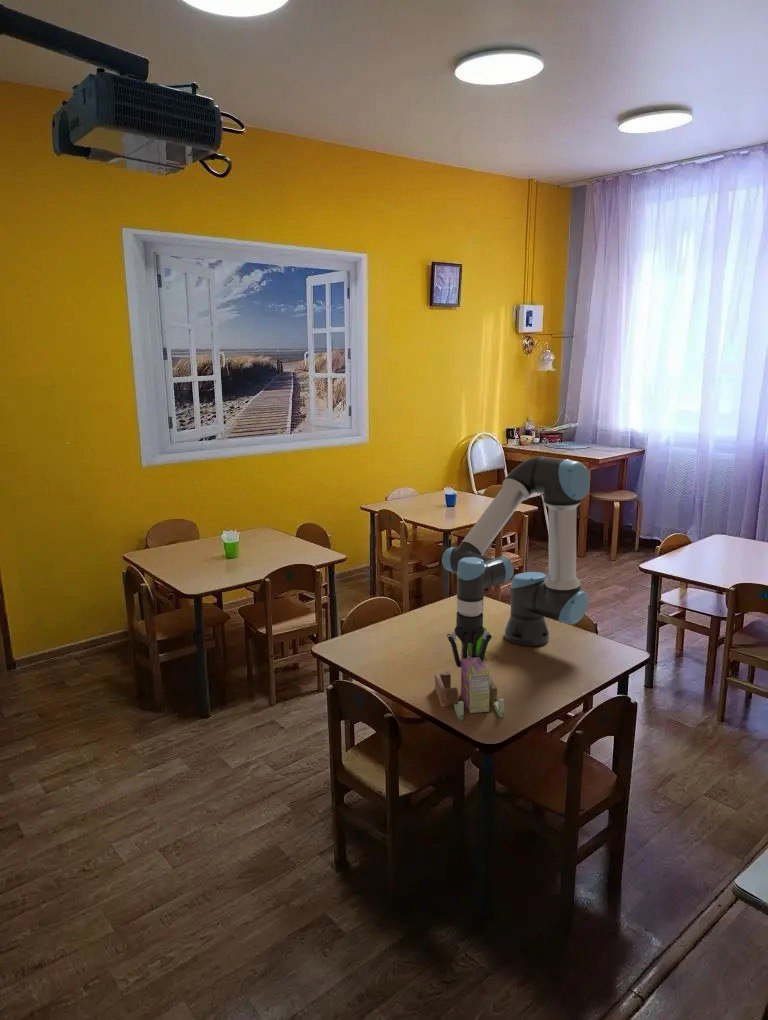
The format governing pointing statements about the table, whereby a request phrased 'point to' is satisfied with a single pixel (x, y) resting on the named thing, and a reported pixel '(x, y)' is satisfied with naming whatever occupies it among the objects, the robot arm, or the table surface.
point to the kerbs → (498, 707)
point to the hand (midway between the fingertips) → (467, 687)
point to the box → (475, 685)
